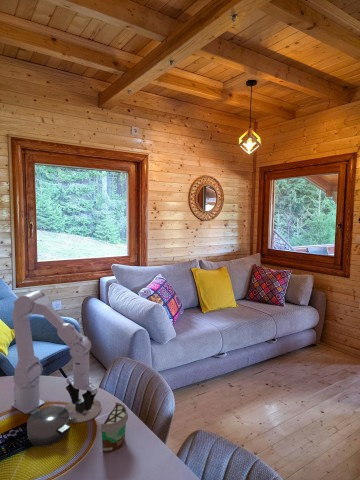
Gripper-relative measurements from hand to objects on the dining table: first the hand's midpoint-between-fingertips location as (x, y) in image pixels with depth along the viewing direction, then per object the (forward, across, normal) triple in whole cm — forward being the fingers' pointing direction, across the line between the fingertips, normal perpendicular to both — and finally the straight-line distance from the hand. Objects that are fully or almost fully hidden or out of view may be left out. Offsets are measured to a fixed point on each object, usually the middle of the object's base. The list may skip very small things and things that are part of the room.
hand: (81, 406), depth 118 cm
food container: (+2, -23, +5) cm, 24 cm away
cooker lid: (+2, 0, 0) cm, 2 cm away
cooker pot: (+2, 0, +14) cm, 14 cm away
